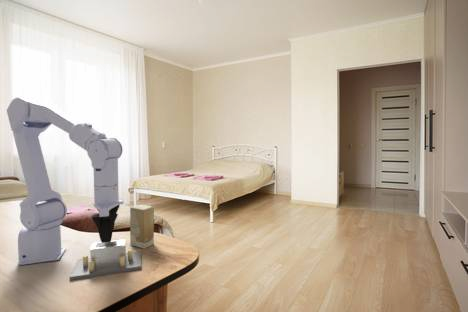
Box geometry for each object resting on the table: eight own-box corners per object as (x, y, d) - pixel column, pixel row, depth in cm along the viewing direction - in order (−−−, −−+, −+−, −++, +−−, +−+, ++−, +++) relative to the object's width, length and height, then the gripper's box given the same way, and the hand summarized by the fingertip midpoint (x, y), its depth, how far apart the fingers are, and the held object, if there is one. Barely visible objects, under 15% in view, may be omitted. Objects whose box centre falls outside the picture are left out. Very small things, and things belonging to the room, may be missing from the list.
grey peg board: (69, 280, 64) (69, 266, 64) (77, 262, 73) (77, 250, 73) (141, 269, 70) (140, 256, 69) (140, 253, 79) (140, 242, 79)
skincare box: (129, 245, 85) (128, 206, 85) (140, 240, 89) (139, 203, 88) (144, 249, 82) (143, 209, 82) (155, 244, 86) (154, 206, 85)
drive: (90, 269, 68) (90, 249, 68) (93, 261, 72) (92, 242, 72) (125, 263, 71) (124, 244, 70) (125, 256, 75) (125, 238, 75)
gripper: (121, 189, 65) (123, 244, 66) (123, 180, 78) (124, 226, 79) (88, 190, 62) (90, 248, 63) (96, 181, 76) (98, 229, 77)
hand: (107, 236), depth 71 cm, fingers open, 7 cm apart
